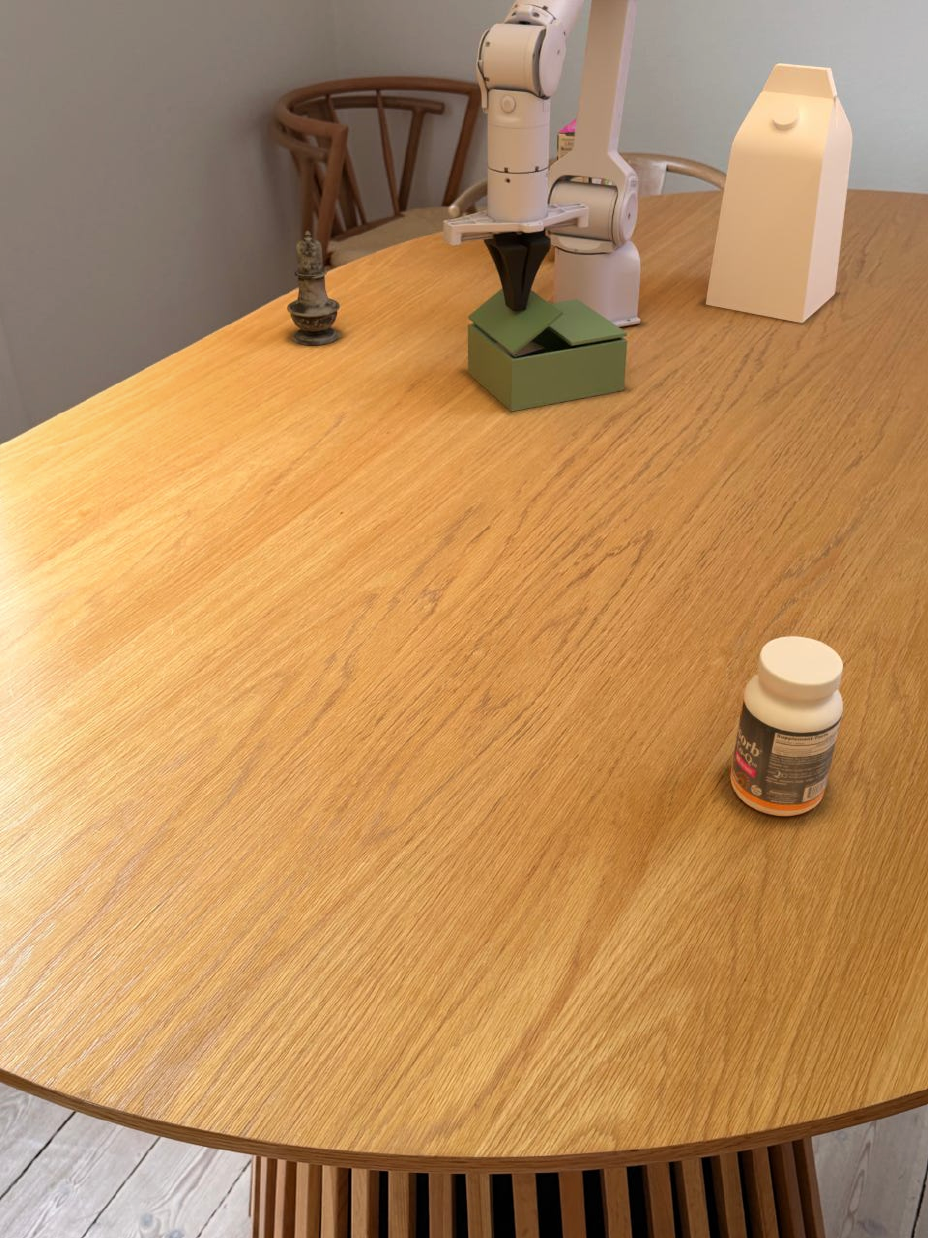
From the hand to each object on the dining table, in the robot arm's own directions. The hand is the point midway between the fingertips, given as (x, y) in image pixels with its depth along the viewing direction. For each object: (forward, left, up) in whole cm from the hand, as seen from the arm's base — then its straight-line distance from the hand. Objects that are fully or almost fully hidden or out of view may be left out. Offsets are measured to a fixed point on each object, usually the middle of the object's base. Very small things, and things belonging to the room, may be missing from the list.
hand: (515, 307), depth 121 cm
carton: (-3, 0, -8) cm, 9 cm away
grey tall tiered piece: (+15, -22, -9) cm, 28 cm away
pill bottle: (+12, +62, -9) cm, 64 cm away
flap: (0, 0, -1) cm, 1 cm away
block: (0, 0, -8) cm, 8 cm away
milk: (-39, -11, -9) cm, 42 cm away
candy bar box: (-27, -37, -9) cm, 47 cm away
